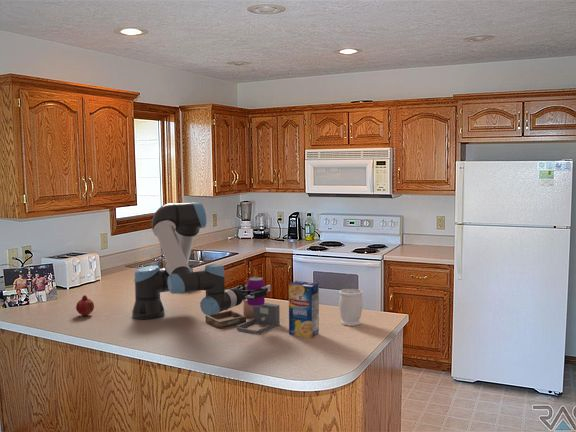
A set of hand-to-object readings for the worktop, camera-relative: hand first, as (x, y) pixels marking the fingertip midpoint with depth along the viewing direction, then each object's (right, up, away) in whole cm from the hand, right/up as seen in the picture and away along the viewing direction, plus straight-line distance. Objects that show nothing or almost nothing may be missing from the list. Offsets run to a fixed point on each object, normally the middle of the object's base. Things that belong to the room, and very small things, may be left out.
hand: (261, 286), depth 241 cm
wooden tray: (-17, -17, +7) cm, 25 cm away
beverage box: (+19, -19, -11) cm, 29 cm away
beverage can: (-3, -8, -3) cm, 9 cm away
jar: (+40, -17, +3) cm, 44 cm away
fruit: (-87, -17, +20) cm, 90 cm away
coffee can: (-49, -11, +75) cm, 90 cm away
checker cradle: (-2, -18, -1) cm, 18 cm away
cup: (-7, -16, +16) cm, 24 cm away
